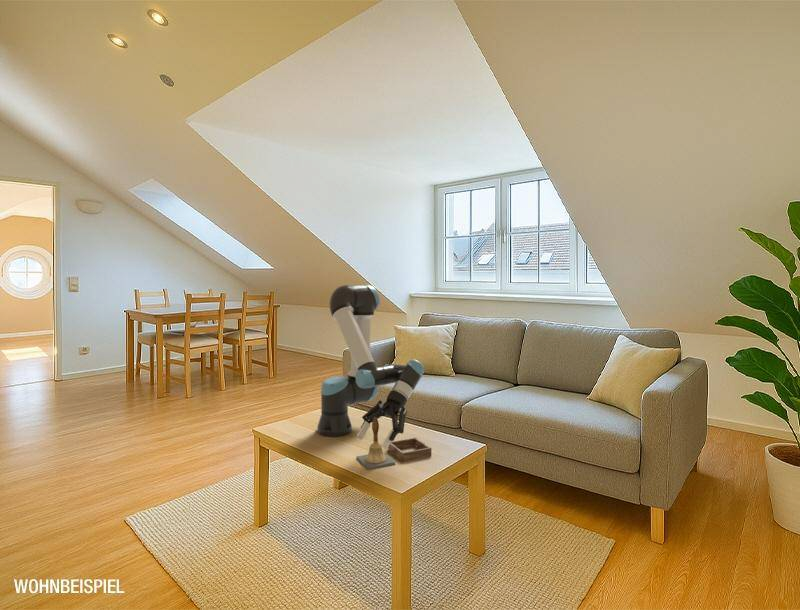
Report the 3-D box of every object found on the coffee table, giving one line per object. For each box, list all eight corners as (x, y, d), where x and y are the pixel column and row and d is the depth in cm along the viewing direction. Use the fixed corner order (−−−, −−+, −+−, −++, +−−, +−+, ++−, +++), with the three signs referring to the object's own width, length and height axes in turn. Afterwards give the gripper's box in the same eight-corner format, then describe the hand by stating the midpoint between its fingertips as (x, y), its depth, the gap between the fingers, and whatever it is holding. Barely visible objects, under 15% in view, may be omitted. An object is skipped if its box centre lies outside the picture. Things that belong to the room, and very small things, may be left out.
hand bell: (367, 464, 172) (367, 422, 171) (362, 455, 180) (363, 415, 179) (389, 462, 174) (389, 420, 173) (383, 453, 182) (384, 413, 181)
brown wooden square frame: (388, 449, 189) (388, 442, 188) (415, 444, 194) (415, 437, 194) (402, 461, 177) (402, 453, 177) (431, 455, 183) (431, 448, 183)
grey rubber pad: (356, 458, 179) (356, 456, 179) (382, 453, 184) (382, 451, 184) (367, 469, 170) (367, 467, 170) (395, 464, 175) (395, 462, 175)
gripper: (428, 407, 178) (400, 456, 168) (381, 394, 195) (354, 438, 185) (419, 395, 174) (390, 446, 164) (372, 384, 191) (344, 429, 181)
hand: (371, 442), depth 175 cm, fingers open, 13 cm apart
